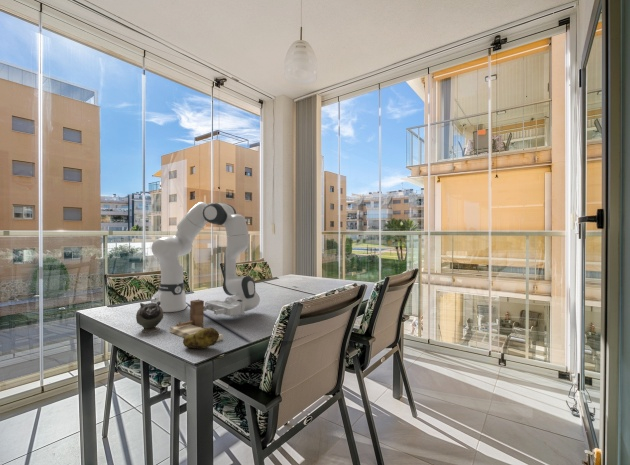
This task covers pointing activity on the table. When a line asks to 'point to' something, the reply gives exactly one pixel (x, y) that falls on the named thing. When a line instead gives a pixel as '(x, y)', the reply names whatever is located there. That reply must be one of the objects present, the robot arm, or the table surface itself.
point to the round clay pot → (149, 316)
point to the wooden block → (195, 314)
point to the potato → (201, 338)
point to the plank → (188, 330)
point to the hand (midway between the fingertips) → (208, 310)
